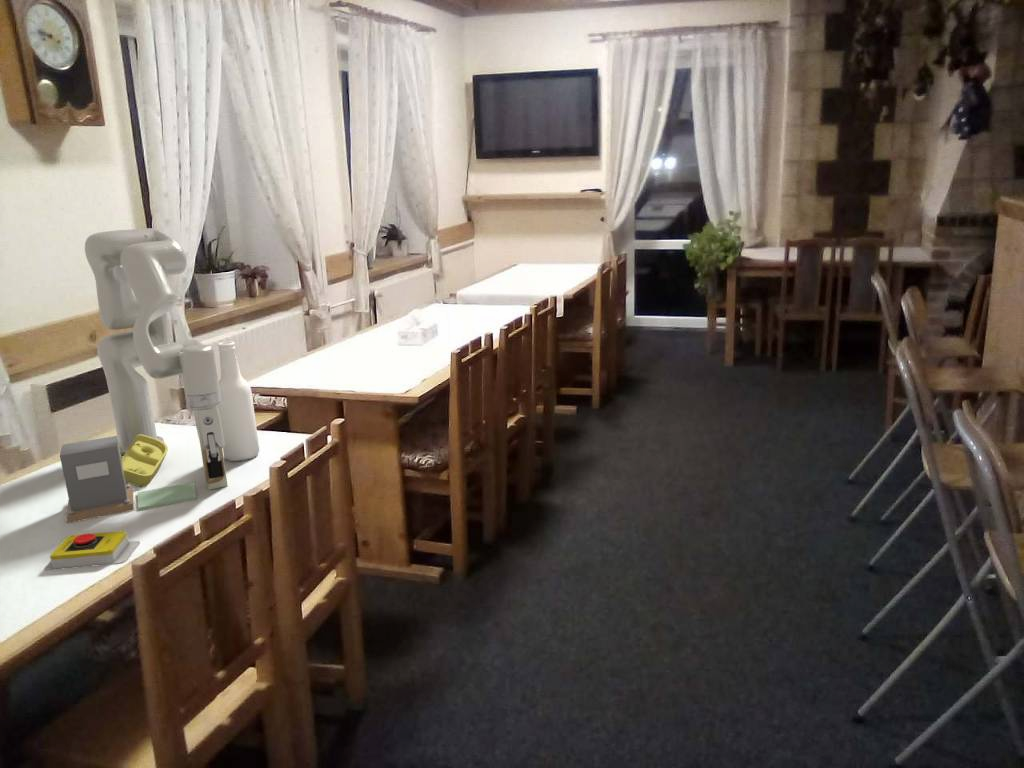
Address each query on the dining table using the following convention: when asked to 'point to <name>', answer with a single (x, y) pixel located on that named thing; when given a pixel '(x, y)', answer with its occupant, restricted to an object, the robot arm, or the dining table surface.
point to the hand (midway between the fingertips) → (214, 471)
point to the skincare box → (212, 482)
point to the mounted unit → (95, 479)
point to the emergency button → (92, 550)
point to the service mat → (166, 496)
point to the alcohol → (236, 408)
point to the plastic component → (143, 459)
